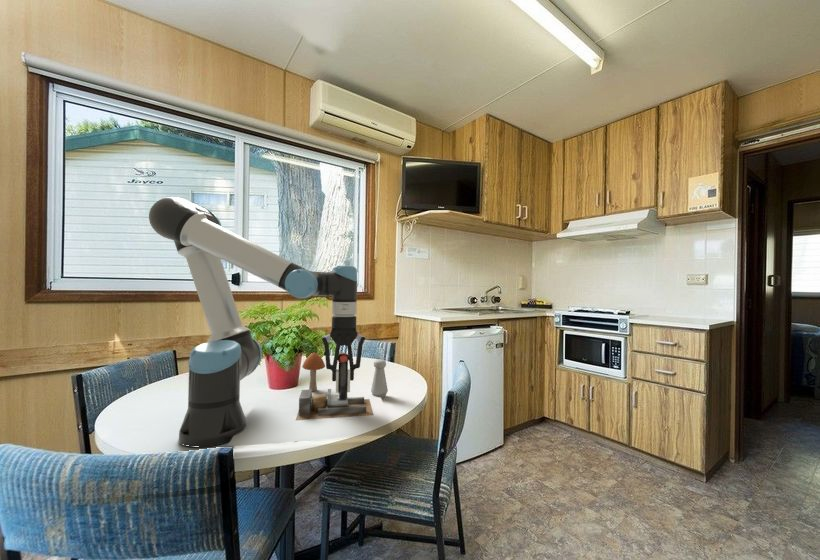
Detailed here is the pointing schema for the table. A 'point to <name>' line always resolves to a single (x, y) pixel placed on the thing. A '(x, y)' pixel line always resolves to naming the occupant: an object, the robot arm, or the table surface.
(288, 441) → the table surface
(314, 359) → the mushroom
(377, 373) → the salt shaker
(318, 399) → the brown wooden cube
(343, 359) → the handle
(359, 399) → the press bench
